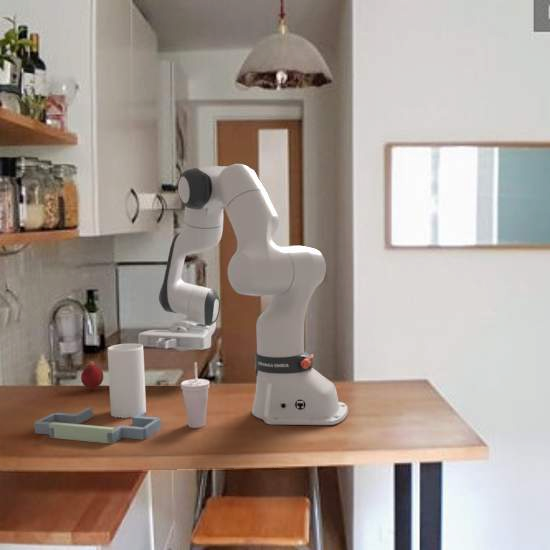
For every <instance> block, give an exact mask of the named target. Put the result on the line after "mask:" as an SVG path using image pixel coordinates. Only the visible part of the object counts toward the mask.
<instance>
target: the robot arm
mask: <svg viewBox="0 0 550 550" xmlns="http://www.w3.org/2000/svg"><path fill="white" fill-rule="evenodd" d="M177 191H178V192H177V193H178V197H179V200H180V201H181V203H182V205H184V219H183V226H182V230H181V231H180V232H177V233H176V234H175V235H174V237H173V239H172V242H171V244H170V248H169V254H168V257H167V261H166V266H165V273H164V278H163V282H162V284H161V287H160V291H159V294H158V302H159V305H161V307H162V309H163V310H164V312H169V313H174V314H180V315H183V316H186V318H183V319H181V320H177V321H175V322H174V323H172V324H171V326H170V327H169V328H168V329H149V330H146V331H143V332H140V333H139V334H138V336H137V338H138V344H141V345H143V347H149V348H151V347H152V348H153V347H154V348H156V349H164V350H165V349H166V350H167V349H174V350H176V351H179V352H186V351H192V350H206V349H210V348H211V346H212V336H213V334H214V333H215V331H216V328H217V327H216V326H217V322H216V321H217V320H218V317H219V315H220V311H221V300H220V298H219V295H218V293H217V291H215V289H213V288H209V287H206V286H201V285H196V284H193V283H187V282H185V281H184V280H183V279H182V273H183V269H184V264H185V260H186V256H189V255H193V254H194V255H195V254H201V253H205V252H208V251H210V250H212V249H214V248H215V247H217V245H219V243H220V241H221V240H222V236H223V231H224V211H225V213H226V215H227V218H228V220H229V222H230V224H231V227H232V229H233V232H234V235H235V237H236V243H237V245H236V247H237V248H236V251H235V253H234V254H233V255H232V256H231V258H230V261H229V263H228V265H227V278H228V282H229V284H230V286H231V287H232V289H233V290H234V291H235V292H236V293H237V294H239V295H244V296H251V297H264V296H272V297H271V300H270V303H269V305H268V306H267V308H266V309H265V310H264V311H263V312H262V313H261V314H260V315H259V316H258V318H257V320H256V325H255V327H256V331H255V332H256V352H255V358H254V370H255V376H256V386H255V387H256V388H255V396H254V400H253V405H252V409H251V413H252V415H253V416H254V417H256V418H258V419H261V420H263V422H264V423H265V424H267V425H290V426H291V425H294V426H295V425H297V426H298V425H301V426H302V425H303V426H304V425H305V426H306V425H307V426H308V425H309V426H331V425H332V426H333V425H336V424H339V423H341V422H343V421H344V420H346V418H347V416H348V413H349V410H348V409H349V408H348V406H347V404H346V403H344V402H342V401H339V397H338V392H337V389H336V386H335V384H334V383H333V382H332V381H331V380H329V379H328V378H326V377H325V376H323V375H322V374H321V373H320V372H318V370H316V369H315V368H313V367H314V362H313V361H314V354H313V353H312V354H309V353H308V352H306V351H305V318H306V313H307V311H308V310H307V309H308V307H309V303H310V300H311V298H312V296H313V294H314V293H315V291H316V289H317V288H318V286H319V285H320V284H322V282H323V281H324V279H325V277H326V272H327V264H326V260H325V258H324V256H323V254H322V253H321V252H320V250H318V249H316V248H313V247H309V246H305V245H304V246H303V245H283V246H282V245H281V246H279V245H276V243H275V242H274V240H273V236H274V235H275V234H276V232H277V231H278V229H279V225H280V219H279V218H280V217H279V216H278V213H277V211H276V209H275V207H274V205H273V203H272V201H271V199H270V197H269V194H268V193H267V191H266V189H265V188H264V186H263V184H262V183H261V181H260V180H259V177H258V175H257V173H256V172H255V170H254V169H253V168H251V167H249V166H248V165H245V164H243V163H234V164H231V165H228V166H227V165H226V166H225V165H223V166H222V165H220V166H219V165H211V166H205V167H200V168H198V167H193V168H190V169H187V170H184V171H182V173H181V175H180V176H179V177H178V181H177Z"/></svg>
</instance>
